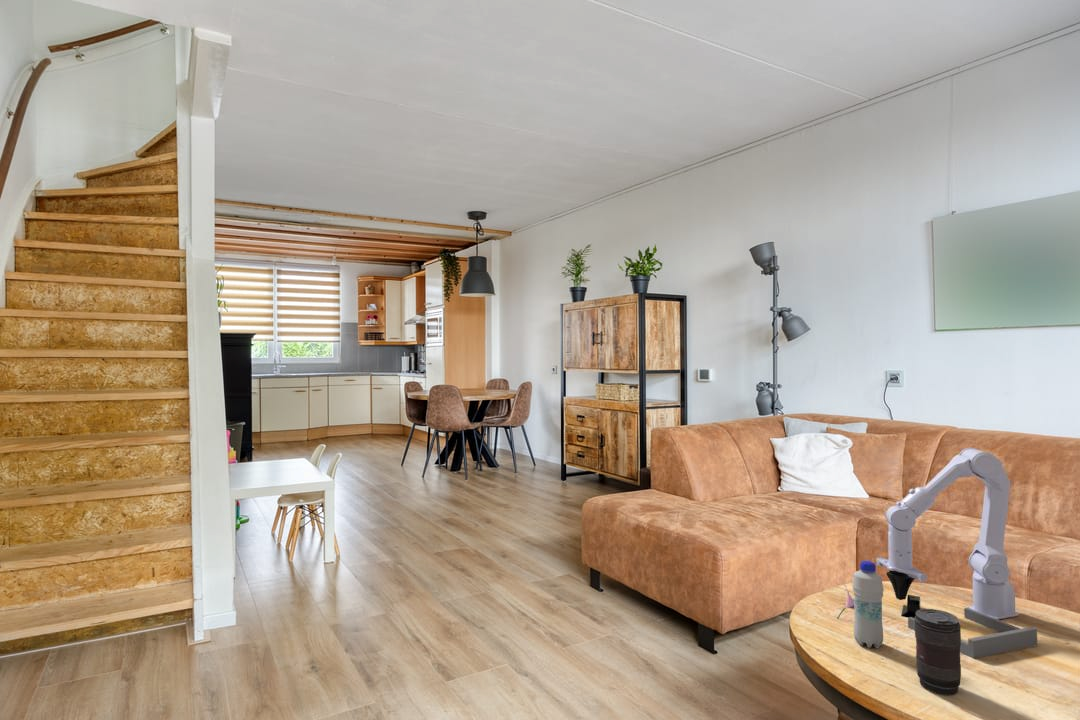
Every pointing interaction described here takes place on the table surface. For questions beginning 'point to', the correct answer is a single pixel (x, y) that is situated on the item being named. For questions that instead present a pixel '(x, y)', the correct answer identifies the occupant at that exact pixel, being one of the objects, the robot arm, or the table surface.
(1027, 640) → the dock
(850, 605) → the lily
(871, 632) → the bottle
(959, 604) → the table surface
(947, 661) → the camera lens
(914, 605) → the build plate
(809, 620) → the table surface
